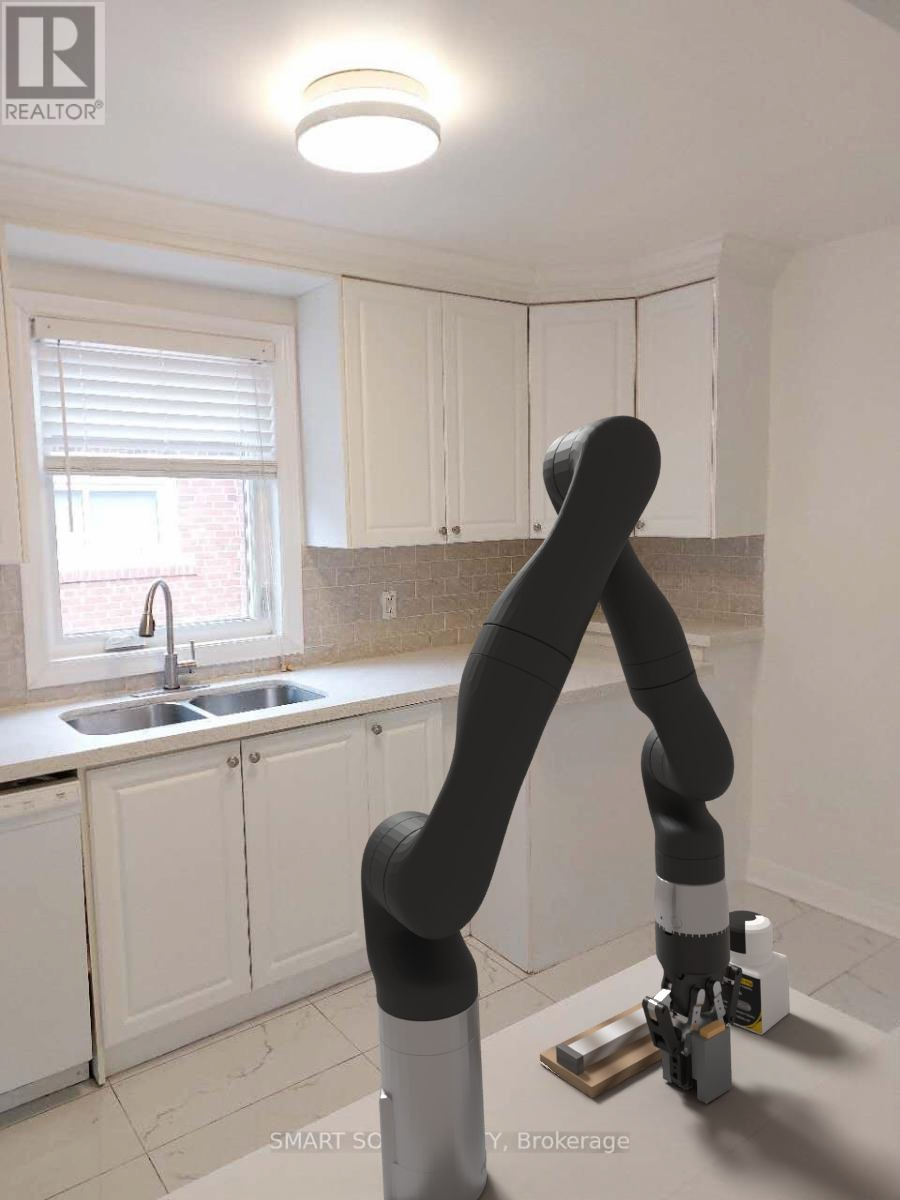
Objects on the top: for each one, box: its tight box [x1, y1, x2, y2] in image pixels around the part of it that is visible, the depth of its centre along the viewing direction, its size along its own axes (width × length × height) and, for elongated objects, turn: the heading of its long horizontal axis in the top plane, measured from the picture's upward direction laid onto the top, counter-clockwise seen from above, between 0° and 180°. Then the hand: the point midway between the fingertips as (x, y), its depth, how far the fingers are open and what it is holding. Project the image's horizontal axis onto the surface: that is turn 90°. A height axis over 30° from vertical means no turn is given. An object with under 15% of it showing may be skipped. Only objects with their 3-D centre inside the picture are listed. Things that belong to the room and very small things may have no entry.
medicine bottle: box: [722, 910, 791, 1036], centre depth 103 cm, size 7×7×12 cm
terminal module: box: [661, 1013, 733, 1104], centre depth 89 cm, size 4×6×7 cm
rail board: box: [539, 995, 662, 1099], centre depth 97 cm, size 20×8×3 cm, turn 126°
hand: (696, 1075), depth 89 cm, fingers closed on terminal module, 4 cm apart
